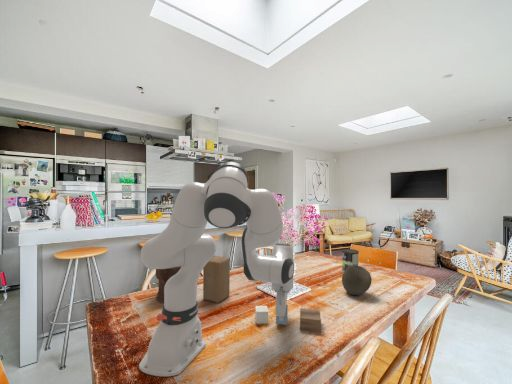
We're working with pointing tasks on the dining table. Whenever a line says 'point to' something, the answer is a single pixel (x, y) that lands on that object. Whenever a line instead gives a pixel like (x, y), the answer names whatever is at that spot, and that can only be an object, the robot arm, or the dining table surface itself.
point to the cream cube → (261, 314)
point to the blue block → (283, 319)
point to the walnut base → (310, 320)
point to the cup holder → (164, 280)
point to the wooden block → (216, 279)
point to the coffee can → (349, 258)
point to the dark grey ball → (356, 280)
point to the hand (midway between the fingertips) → (281, 316)
